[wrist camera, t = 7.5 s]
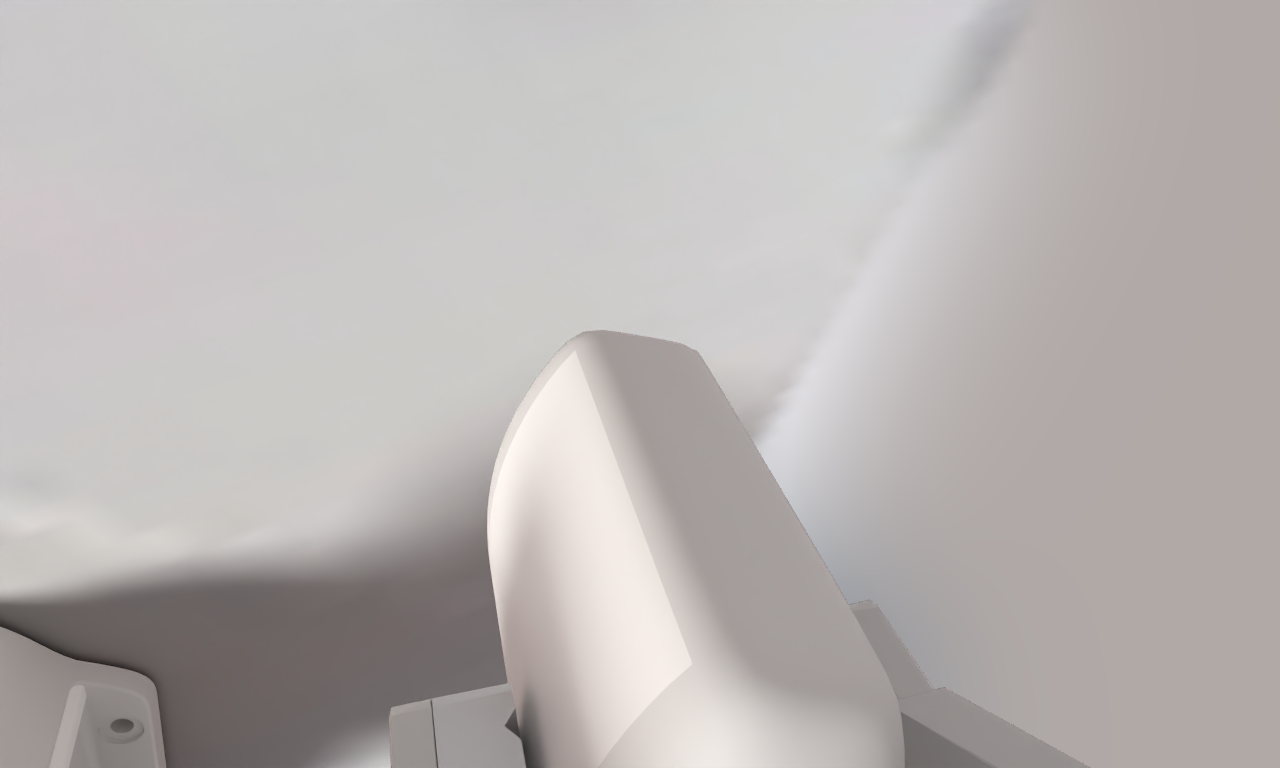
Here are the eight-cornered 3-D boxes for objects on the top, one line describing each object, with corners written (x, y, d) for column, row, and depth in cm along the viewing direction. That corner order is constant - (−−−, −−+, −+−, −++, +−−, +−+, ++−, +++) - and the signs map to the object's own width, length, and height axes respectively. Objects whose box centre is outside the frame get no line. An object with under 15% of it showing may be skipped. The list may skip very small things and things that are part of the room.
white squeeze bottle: (381, 514, 15) (389, 1781, 5) (619, 275, 14) (1184, 1343, 4) (568, 621, 18) (815, 1660, 8) (788, 423, 17) (1414, 1347, 7)
